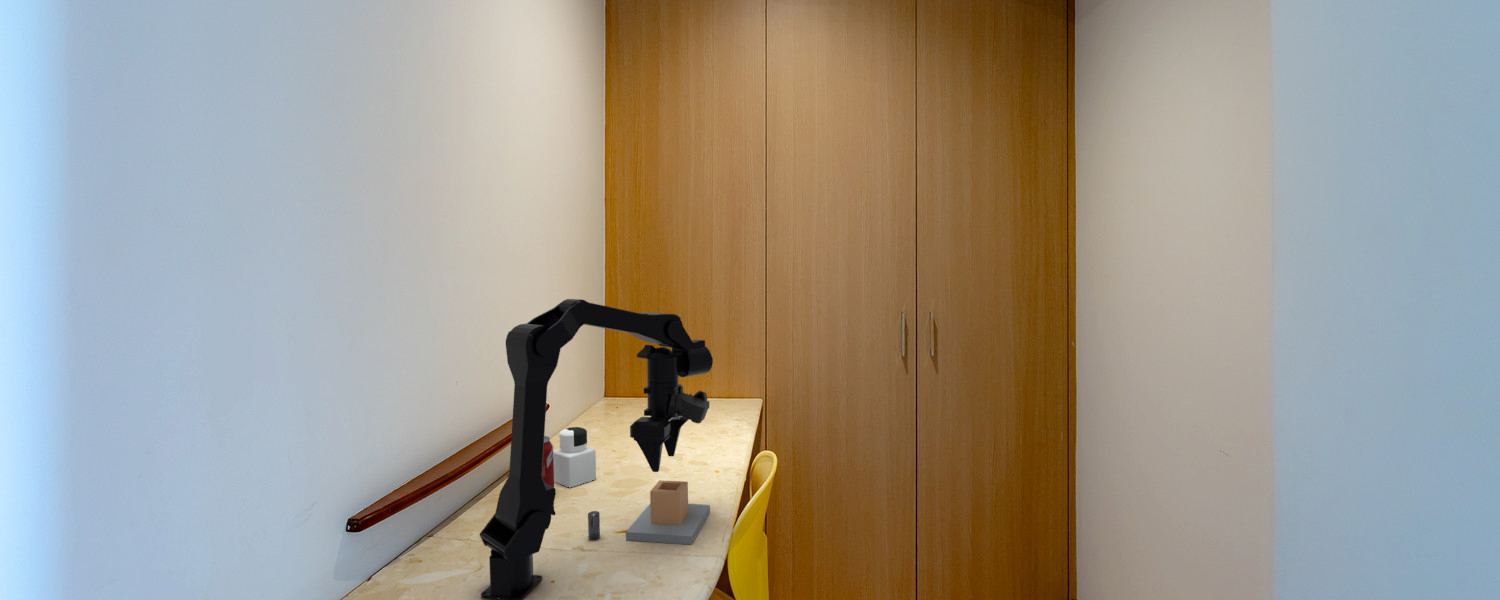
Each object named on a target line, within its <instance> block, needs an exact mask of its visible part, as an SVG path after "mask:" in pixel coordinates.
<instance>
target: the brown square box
mask: <svg viewBox="0 0 1500 600" xmlns="http://www.w3.org/2000/svg"><path fill="white" fill-rule="evenodd" d="M688 482H689V481H681V480H680V481H679V480H658V482H657V483H655V485H654V486H653V487H652V488H651V489H650V490H649V491H650V495H649V497H650V498H649V500H650V501H649V502H650V503H649V504H650V508H651V523H656V524H673V525H681V523H682V522H683V520H684V518H685V517H686V515H687V514H688V504H689V483H688Z"/></svg>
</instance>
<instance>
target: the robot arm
mask: <svg viewBox="0 0 1500 600" xmlns="http://www.w3.org/2000/svg"><path fill="white" fill-rule="evenodd" d="M583 326H591V327H594V328H595V327H596V328H602V329H606V330H611V331H618V332H624V333H627V334H630V335H632V336H634V337H635V338H637V339H639V340H642V341H644V342H646V343H649V344H644V346H643V348H642V349H641V350H640V351H639V352H638V353H637V354H636V357H637V358H639V359H644V360H646V376H647V377H646V378H647V379H646V381H647V382H646V383H647V384H646V386H645V387H643V394H645V395H646V394H647V395H646V396H647V399H646V400H647V408H645V409H644V410H643V416H641V417H639V418H637V419H636V420H635V421H633V422H632V424H631V425H630V427H629V434H630V435H629V436H630V438H632V439H633V441H635V442H636V444H637V445H638V447H639V448H640V450H641V452H642V454H643V455H644V458H645V460H646V461H647V464H648V465H649V467H650V469H651V471H652V472H653V473H658V472H660V465H661V460H662V451H663V445H664V448H665V452H666V453H667V456H668V457H674V456H675V454H676V449H677V445H678V441H679V436H680V432H681V430H682V427H683V426H684V425H685V423H687V422H688V421H689V420H690V421H691V422H692V423H694V424H701V423H702V421H703V420H705V419H706V416H707V413H708V410H709V409H710V405H711V404H710V400H708V396H707V392H705V391H702V390H698V391H697V392H696V393H694V395H693V394H692V393H689V394H688V393H685V392H684V386H683V385H682V384H681V383H679V377H680V378H686V377H691V376H699V375H705V374H708V373H709V372H710V371H711V369H712V368H713V364H714V363H713V362H714V361H713V359H714V358H713V356H712V353H711V351H710V350H709V348H708V347H707V346H706V340H705V339H693V340H692V338H691V337H690V335H689V334H688V332H687V330H686V328H685V327H684V325H683V321H682V320H681V317H680V316H679V315H678V314H675V313H666V312H664V313H663V312H636V311H632V310H631V311H629V310H625V309H620V308H616V307H611V306H606V305H602V304H598V303H594V302H588V301H586V300H585V299H579V298H578V299H576V298H566V299H564V300H562V301H561V302H559V303H558V304H557V305H555V306H554V307H552V308H551V309H549V310H547V311H545V312H543V313H542V314H539V315H538V316H535V317H533V318H532V319H531V320H530V321H528V322H527V323H520V324H518V325H516V326H513V328H512V329H511V330H510V331H508V332H507V335H506V338H505V349H506V359H507V365H508V368H509V371H510V373H511V376H512V378H513V382H514V384H513V385H514V392H513V407H512V422H511V437H510V438H511V439H510V440H511V441H510V442H511V443H510V454H509V455H510V456H509V472H508V477H507V479H506V481H505V482H504V484H503V486H502V488H501V490H500V492H499V496H498V499H497V504H496V508H495V513H494V514H493V516H492V517H491V518H490V520H489V521H488V522H487V523H486V525H485V526H484V528H483V529H482V530H481V531H480V533H479V537H480V539H481V541H482V544H483V545H484V546H485V547H488V549H491V550H490V556H489V559H488V560H489V586H487V588H485V590H483V591H482V592H481V593H480V598H482V597H491V598H500V599H499V600H502V599H510V600H524V598H525V597H526V596H527V595H528V594H529V593H530V592H531V591H532V590H533V589H534V588H535V587H536V586H537V585H538V584H539V583H540V582H541V581H542V580H543V576H542V575H540V574H538V575H537V574H534V557H533V556H534V554H537V553H539V552H540V550H541V547H542V543H543V539H544V536H545V532H546V530H549V528H550V526H551V521H552V516H556V511H555V499H556V488H555V486H554V487H551V486H549V485H547V484H545V483H544V481H543V477H542V468H543V451H544V436H545V433H546V432H545V431H546V429H545V428H546V414H547V413H546V411H547V398H548V394H547V393H548V384H549V381H550V379H551V378H552V375H554V372H555V371H556V369H557V367H558V363H559V358H560V353H561V349H562V348H563V347H564V346H565V345H567V344H568V343H569V342H570V341H572V340H573V339H574V337H575V336H576V334H577V332H578V331H579V329H580V328H581V327H583ZM652 344H657V345H658V346H659V347H655V345H652ZM491 598H490V599H491Z"/></svg>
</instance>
